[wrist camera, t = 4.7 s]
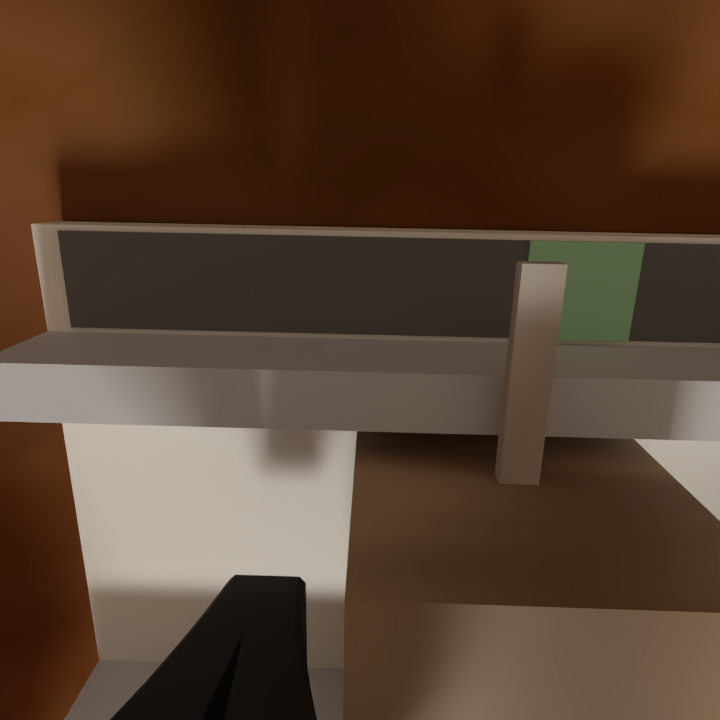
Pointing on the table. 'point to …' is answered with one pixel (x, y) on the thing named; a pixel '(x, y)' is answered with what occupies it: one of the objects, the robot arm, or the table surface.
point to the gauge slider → (527, 564)
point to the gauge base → (321, 395)
